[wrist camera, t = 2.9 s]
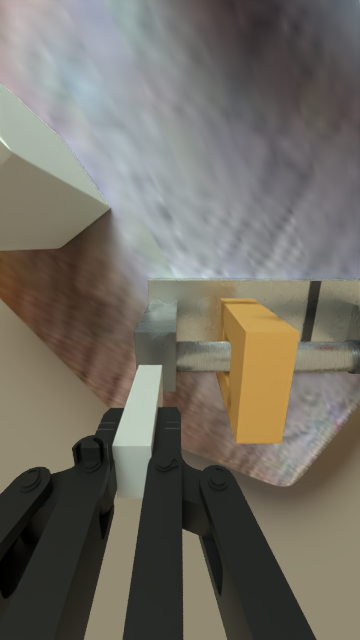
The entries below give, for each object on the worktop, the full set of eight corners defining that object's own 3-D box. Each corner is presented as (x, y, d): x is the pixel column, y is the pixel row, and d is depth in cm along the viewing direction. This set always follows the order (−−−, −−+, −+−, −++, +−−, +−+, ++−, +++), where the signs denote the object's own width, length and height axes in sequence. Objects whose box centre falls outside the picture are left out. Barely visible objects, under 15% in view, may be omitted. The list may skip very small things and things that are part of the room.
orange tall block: (216, 374, 24) (236, 443, 16) (220, 298, 22) (246, 332, 13) (246, 374, 24) (281, 443, 16) (253, 298, 22) (299, 332, 13)
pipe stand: (152, 360, 29) (139, 419, 19) (149, 278, 26) (131, 298, 16) (356, 360, 29) (445, 419, 19) (376, 278, 26) (494, 299, 16)
